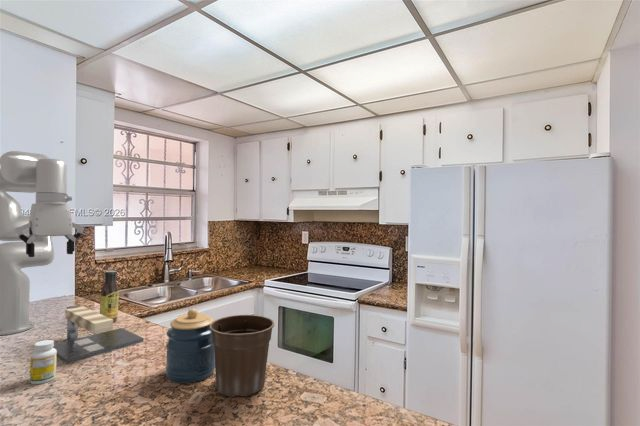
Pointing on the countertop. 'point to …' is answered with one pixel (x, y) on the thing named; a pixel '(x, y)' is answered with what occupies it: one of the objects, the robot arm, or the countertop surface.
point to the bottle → (109, 296)
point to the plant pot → (241, 353)
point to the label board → (93, 343)
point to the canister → (190, 348)
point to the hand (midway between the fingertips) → (51, 255)
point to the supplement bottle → (43, 362)
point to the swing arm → (88, 319)
